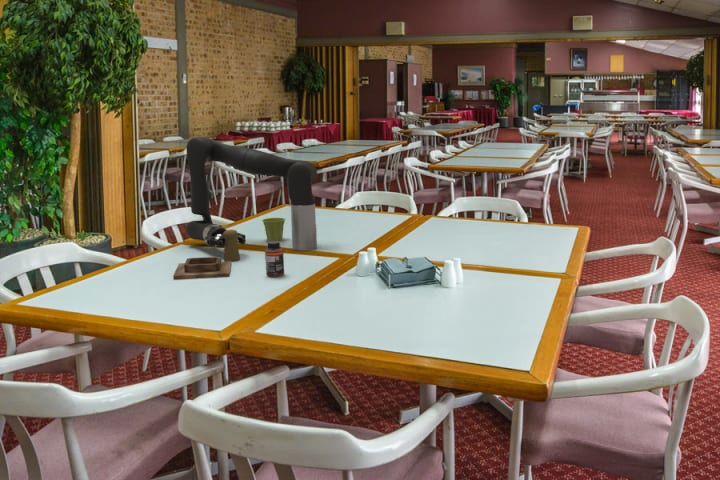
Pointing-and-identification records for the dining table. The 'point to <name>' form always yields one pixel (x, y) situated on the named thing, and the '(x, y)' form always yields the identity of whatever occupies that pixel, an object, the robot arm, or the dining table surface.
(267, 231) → the plant pot
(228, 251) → the cork
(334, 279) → the dining table surface
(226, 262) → the condiment stand
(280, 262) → the supplement bottle
